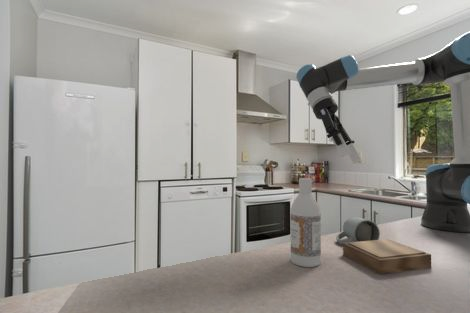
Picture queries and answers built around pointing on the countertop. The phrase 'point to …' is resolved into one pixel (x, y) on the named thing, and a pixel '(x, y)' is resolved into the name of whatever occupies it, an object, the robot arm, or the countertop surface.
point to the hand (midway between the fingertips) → (352, 158)
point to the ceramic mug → (358, 231)
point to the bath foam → (305, 227)
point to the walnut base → (386, 256)
